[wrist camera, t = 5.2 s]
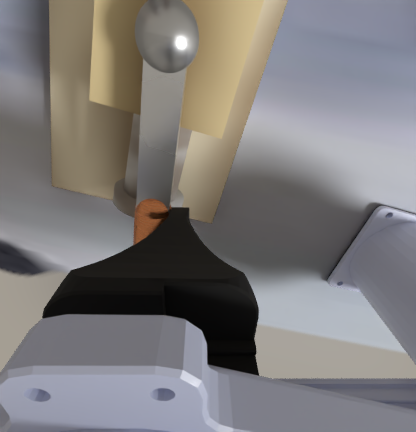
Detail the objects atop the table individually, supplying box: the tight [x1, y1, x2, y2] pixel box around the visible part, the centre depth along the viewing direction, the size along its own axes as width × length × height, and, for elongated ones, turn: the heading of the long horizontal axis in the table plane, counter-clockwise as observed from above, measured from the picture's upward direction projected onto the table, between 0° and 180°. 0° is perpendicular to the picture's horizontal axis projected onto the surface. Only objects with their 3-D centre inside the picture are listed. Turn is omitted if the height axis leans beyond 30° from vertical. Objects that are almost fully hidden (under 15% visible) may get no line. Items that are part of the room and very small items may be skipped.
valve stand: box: [49, 0, 288, 224], centre depth 11 cm, size 11×19×6 cm, turn 164°
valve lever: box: [133, 0, 199, 245], centre depth 10 cm, size 12×2×2 cm, turn 170°
